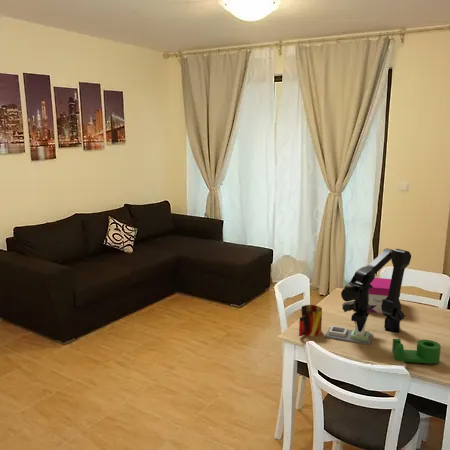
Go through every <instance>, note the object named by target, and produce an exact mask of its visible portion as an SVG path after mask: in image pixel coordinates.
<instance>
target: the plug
mask: <svg viewBox="0 0 450 450" xmlns="http://www.w3.org/2000/svg"><path fill="white" fill-rule="evenodd" d="M366 324H367V322H366V323H365V325H364V327H363V329H362V331H361V332H359V331H358V327H357V323H356V322H355V321H354V325H355V328H354V329H355V335H359V336H365V331H366V326H367V325H366Z"/></svg>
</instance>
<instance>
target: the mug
mask: <svg viewBox="0 0 450 450" xmlns="http://www.w3.org/2000/svg"><path fill="white" fill-rule="evenodd" d="M300 313H301V314H300V315H301V316H300V317H299V326H298V327H299V328H298V337H302V336H304V335H305V336H309V337H316V336H317V337H318V336H320V335H321V334H322V322H323V321H322V320H323V319H322V317H323V308H322V307H321V306H319V305H316V304H305V305H302V306H301V312H300Z"/></svg>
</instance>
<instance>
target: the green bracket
mask: <svg viewBox="0 0 450 450" xmlns="http://www.w3.org/2000/svg"><path fill="white" fill-rule="evenodd" d="M441 346H442V345H441V344H440V343H439V342H437V341H434V340H432V339H431V340H430V339H419V340H417V343H416V350H415V349H405V347H404V345H403V343H402V341H401V339H400V338H392V347H391V351H392V355H393V356H394V358H395V361H396V362H397V361H399V362H404V363H405V362H406V363H419V364H438V363H439V362H440V358H441V348H442V347H441Z"/></svg>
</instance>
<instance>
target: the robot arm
mask: <svg viewBox="0 0 450 450" xmlns="http://www.w3.org/2000/svg"><path fill="white" fill-rule="evenodd" d="M411 259H412V254H411V252H410V251H409V250H406V249H405V250H404V249H400V248H395V249H393V248H384V249H383V251H382V252H381V253H380V254H378V255H377V257H376V258H374V259H373V260H372V261H371V262H370V263H369V264H368V265H365V266H363V267H360V268H358V269H357V270H356V271H355V273H354V275H353V276H352V278H351V280H350V282H349V284H348V285H345V286H344V288H343V289H342V290H341V292H340V295H341V298H342V300H343V304H342V305H341V307H342V310H343V312H344V313H347V312H350V311H353V314H351V316H350V317H351V318H350V319H351V320H350V321H351V322H354V323H355V322H356V323H357V327H358V331H359V332H361V331H362V329H363V327H364V325H365V323H366V324H367V320H368V317H369V314H370V312H368V311H370V310H371V306H370V305H369V304H368V302H369V288H372V287H373V286H372V285H371V284H370V283H371V282H372V281H373V280H374V278H376V274H377V273H378V272H379V271H381V269H382V268H384V266H386V265H387V264H388V263H389V262H390V261H391V263H392V266H393V268H392V272H391V273H392V274H391V278H390V279H391V283H390V288H389V293H388V297H387V298H386V299H383V300H382V305H381V307H382V308H381V309H382V312H383V313H382V315H383V316H385V318H384V328H383V329H384V330H385V331H386V332H392V333H393V332H394V333H400V330H401V326H400V325H401V322H402V321H403V320H404V318H405V316H406V314H404V312H403V311H402V310H401V309H402V304H401V301H400V297H399V295H400V296H401V288H402V283H403V279H404V273H405V270H406V268H407V267H408V266H409V265H410V263H411Z"/></svg>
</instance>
